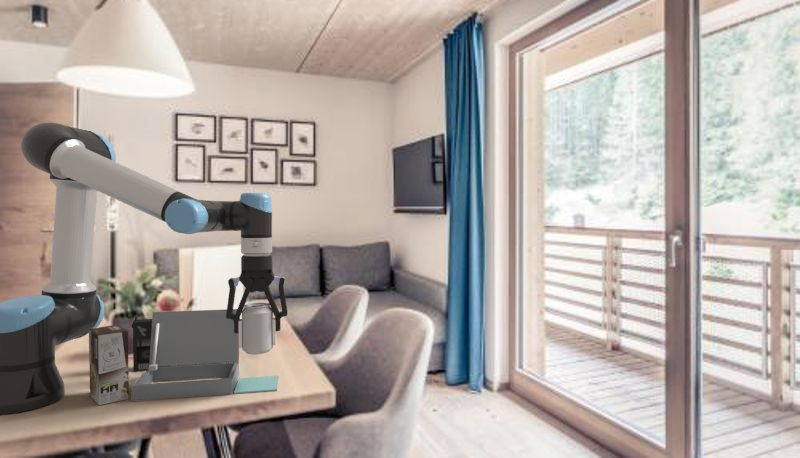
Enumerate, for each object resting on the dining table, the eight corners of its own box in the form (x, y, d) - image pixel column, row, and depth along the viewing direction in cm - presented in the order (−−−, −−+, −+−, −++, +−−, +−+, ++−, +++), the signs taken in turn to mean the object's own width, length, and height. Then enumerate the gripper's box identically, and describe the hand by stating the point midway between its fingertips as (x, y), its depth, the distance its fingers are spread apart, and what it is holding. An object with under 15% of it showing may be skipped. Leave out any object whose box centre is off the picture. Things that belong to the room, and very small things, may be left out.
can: (271, 345, 125) (271, 300, 124) (274, 353, 118) (274, 305, 117) (241, 348, 122) (240, 302, 122) (243, 356, 115) (242, 307, 115)
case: (131, 401, 109) (130, 327, 109) (154, 375, 127) (153, 311, 126) (231, 394, 114) (231, 323, 114) (240, 369, 132) (240, 308, 131)
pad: (234, 393, 114) (234, 392, 114) (239, 379, 124) (239, 378, 124) (276, 390, 116) (277, 389, 116) (278, 377, 126) (278, 375, 126)
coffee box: (130, 398, 111) (129, 330, 110) (98, 406, 106) (97, 335, 106) (119, 388, 118) (118, 323, 117) (89, 395, 113) (88, 327, 112)
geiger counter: (175, 363, 137) (174, 311, 137) (173, 368, 133) (173, 314, 133) (134, 367, 134) (133, 314, 133) (131, 372, 129) (130, 317, 129)
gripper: (211, 256, 113) (212, 351, 114) (298, 255, 118) (298, 346, 118) (216, 254, 121) (217, 343, 121) (298, 252, 125) (298, 338, 126)
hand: (257, 344), depth 120 cm, fingers closed on can, 7 cm apart
